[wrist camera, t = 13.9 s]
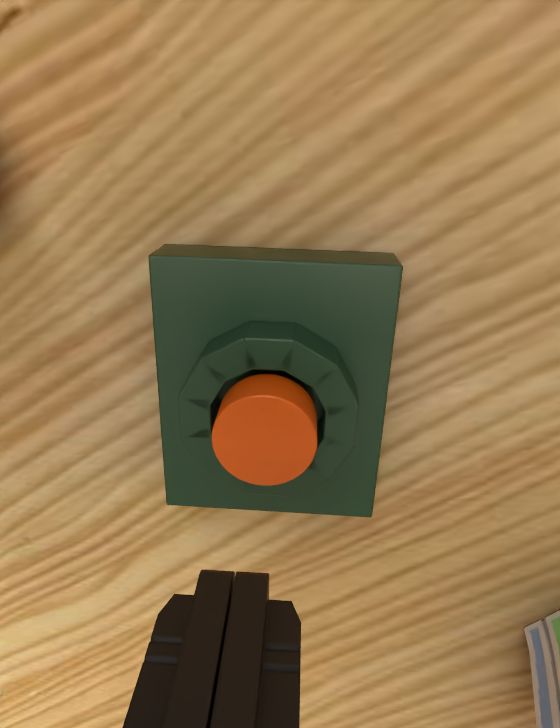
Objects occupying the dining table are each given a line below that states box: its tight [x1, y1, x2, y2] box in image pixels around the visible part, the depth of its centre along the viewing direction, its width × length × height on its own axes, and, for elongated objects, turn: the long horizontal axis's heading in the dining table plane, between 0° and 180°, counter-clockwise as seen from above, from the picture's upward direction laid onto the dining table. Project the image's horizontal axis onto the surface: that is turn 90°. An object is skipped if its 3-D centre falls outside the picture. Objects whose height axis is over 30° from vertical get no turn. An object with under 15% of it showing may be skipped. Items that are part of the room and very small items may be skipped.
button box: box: [149, 244, 403, 517], centre depth 21 cm, size 11×9×4 cm
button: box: [212, 374, 317, 486], centre depth 18 cm, size 4×4×2 cm
